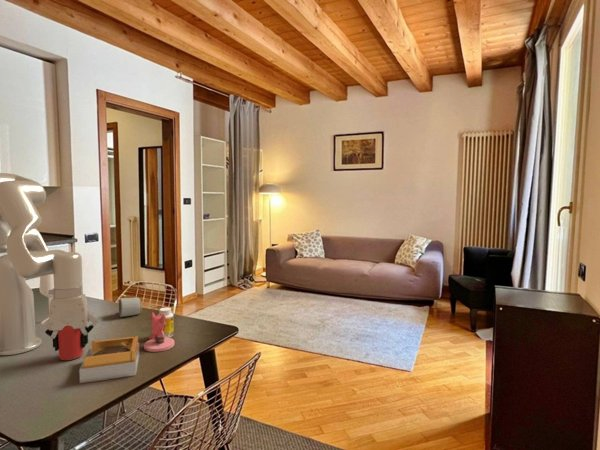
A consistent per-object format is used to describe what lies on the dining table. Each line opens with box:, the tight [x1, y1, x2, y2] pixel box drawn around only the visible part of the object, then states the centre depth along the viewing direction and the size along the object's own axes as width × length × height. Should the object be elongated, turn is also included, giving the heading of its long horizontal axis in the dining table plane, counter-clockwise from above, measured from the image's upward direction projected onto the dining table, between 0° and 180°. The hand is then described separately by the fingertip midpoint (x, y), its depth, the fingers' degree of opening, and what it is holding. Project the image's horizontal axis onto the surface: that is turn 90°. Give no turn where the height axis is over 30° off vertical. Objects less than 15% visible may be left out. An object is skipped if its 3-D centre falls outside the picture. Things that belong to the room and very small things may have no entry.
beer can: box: [58, 323, 84, 361], centre depth 114 cm, size 7×7×12 cm
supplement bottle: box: [156, 307, 175, 338], centre depth 131 cm, size 6×6×10 cm
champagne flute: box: [39, 274, 54, 325], centre depth 144 cm, size 7×7×24 cm
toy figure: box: [143, 310, 175, 353], centre depth 123 cm, size 10×10×12 cm
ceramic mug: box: [118, 297, 143, 318], centre depth 154 cm, size 11×8×8 cm
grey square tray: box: [78, 335, 140, 384], centre depth 108 cm, size 14×14×6 cm
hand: (71, 347), depth 114 cm, fingers closed on beer can, 6 cm apart
